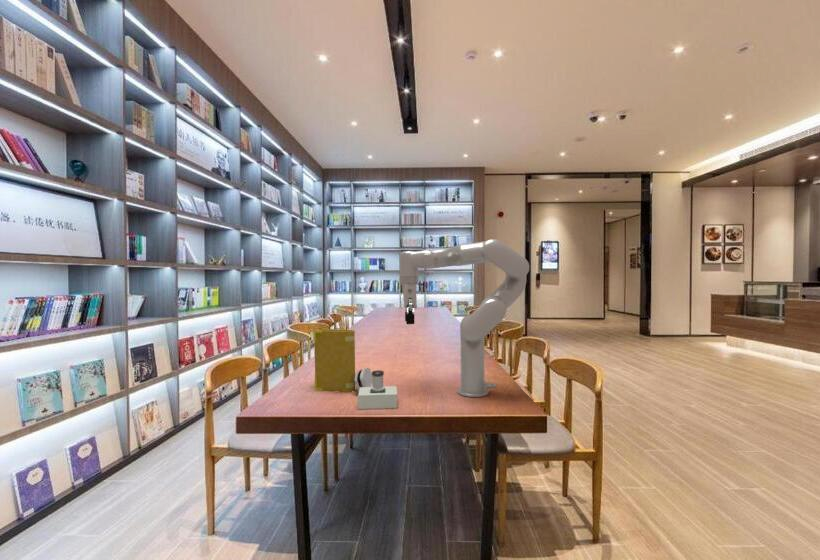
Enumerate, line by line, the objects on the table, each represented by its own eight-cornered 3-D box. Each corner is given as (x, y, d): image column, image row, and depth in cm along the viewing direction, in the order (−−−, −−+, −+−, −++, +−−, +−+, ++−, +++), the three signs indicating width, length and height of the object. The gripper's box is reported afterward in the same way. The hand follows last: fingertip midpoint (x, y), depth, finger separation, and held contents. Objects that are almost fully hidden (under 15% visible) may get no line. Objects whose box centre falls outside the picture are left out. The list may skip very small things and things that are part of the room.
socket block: (396, 399, 146) (396, 386, 146) (397, 408, 136) (397, 394, 136) (360, 400, 146) (360, 387, 146) (358, 409, 136) (358, 395, 136)
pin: (384, 401, 143) (383, 370, 143) (384, 405, 139) (383, 373, 139) (372, 402, 143) (372, 370, 143) (372, 406, 139) (371, 373, 139)
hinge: (372, 396, 150) (363, 373, 150) (360, 400, 150) (352, 377, 150) (378, 384, 166) (370, 363, 166) (368, 388, 167) (361, 366, 167)
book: (314, 390, 159) (313, 330, 159) (323, 385, 166) (322, 328, 165) (350, 393, 154) (349, 332, 154) (358, 388, 160) (357, 329, 160)
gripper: (420, 281, 148) (420, 325, 148) (416, 280, 165) (417, 320, 165) (400, 281, 147) (401, 325, 148) (399, 281, 165) (399, 320, 165)
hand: (409, 322), depth 156 cm, fingers open, 9 cm apart
